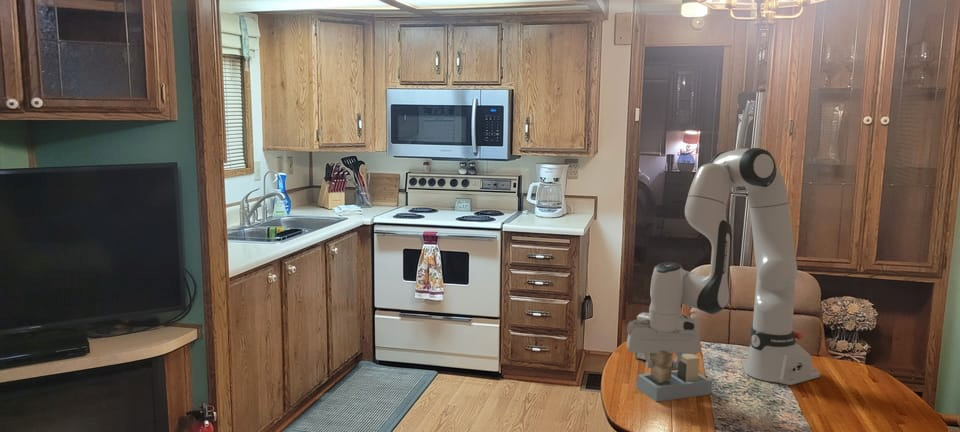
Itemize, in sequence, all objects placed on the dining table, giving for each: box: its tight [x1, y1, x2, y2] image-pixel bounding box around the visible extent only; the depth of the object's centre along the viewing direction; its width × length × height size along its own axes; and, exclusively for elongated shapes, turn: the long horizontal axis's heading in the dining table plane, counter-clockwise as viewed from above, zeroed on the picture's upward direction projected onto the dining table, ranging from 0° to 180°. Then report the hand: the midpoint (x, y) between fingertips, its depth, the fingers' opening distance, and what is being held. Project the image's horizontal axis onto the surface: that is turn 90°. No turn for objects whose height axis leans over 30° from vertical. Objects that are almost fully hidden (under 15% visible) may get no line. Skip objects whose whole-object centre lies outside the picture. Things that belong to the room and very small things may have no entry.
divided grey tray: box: [636, 354, 713, 403], centre depth 195 cm, size 18×10×10 cm, turn 108°
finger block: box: [650, 351, 674, 383], centre depth 194 cm, size 4×4×9 cm
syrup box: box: [634, 312, 652, 361], centre depth 221 cm, size 6×6×14 cm
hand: (661, 367), depth 194 cm, fingers closed on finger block, 6 cm apart
